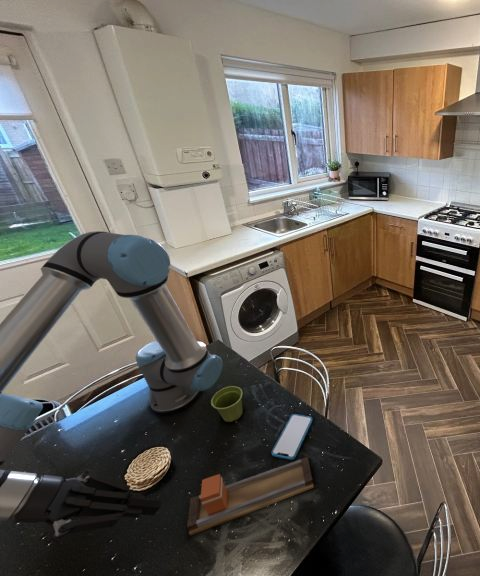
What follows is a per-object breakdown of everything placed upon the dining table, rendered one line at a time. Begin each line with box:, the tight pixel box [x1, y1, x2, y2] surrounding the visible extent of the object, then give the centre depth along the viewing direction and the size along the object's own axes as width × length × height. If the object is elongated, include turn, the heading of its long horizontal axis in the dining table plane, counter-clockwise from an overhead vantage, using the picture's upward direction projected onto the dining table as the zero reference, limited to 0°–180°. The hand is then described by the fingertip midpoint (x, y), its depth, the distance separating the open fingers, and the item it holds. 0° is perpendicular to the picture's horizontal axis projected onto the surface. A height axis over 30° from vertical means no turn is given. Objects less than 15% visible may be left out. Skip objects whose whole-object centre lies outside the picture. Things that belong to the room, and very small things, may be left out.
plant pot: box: [210, 385, 244, 423], centre depth 104 cm, size 9×9×9 cm
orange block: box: [200, 473, 228, 516], centre depth 78 cm, size 5×4×9 cm
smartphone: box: [271, 413, 313, 461], centre depth 99 cm, size 8×1×15 cm
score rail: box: [186, 456, 315, 537], centre depth 83 cm, size 8×30×3 cm, turn 112°
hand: (157, 508), depth 72 cm, fingers closed
